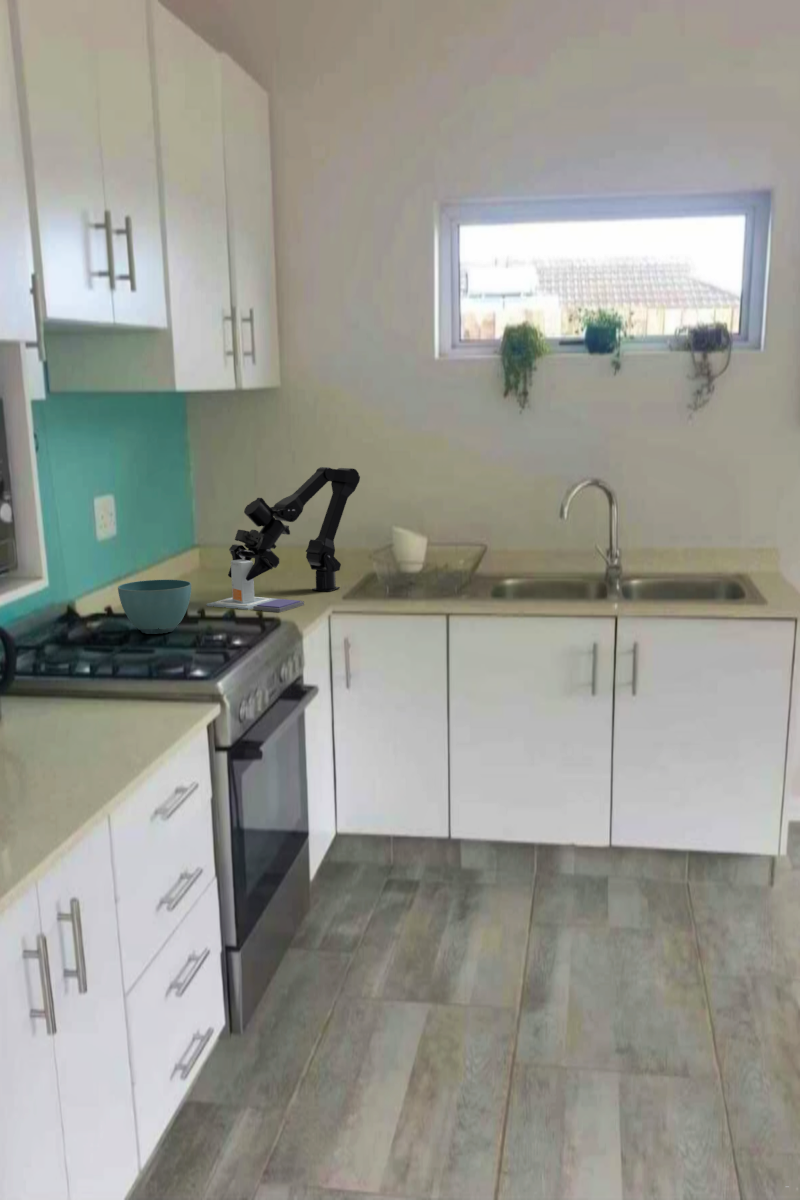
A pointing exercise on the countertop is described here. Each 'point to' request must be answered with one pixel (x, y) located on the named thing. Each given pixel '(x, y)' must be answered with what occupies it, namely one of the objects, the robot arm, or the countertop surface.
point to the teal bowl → (155, 602)
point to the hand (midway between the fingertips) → (238, 578)
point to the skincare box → (242, 581)
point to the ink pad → (279, 605)
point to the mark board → (234, 604)
